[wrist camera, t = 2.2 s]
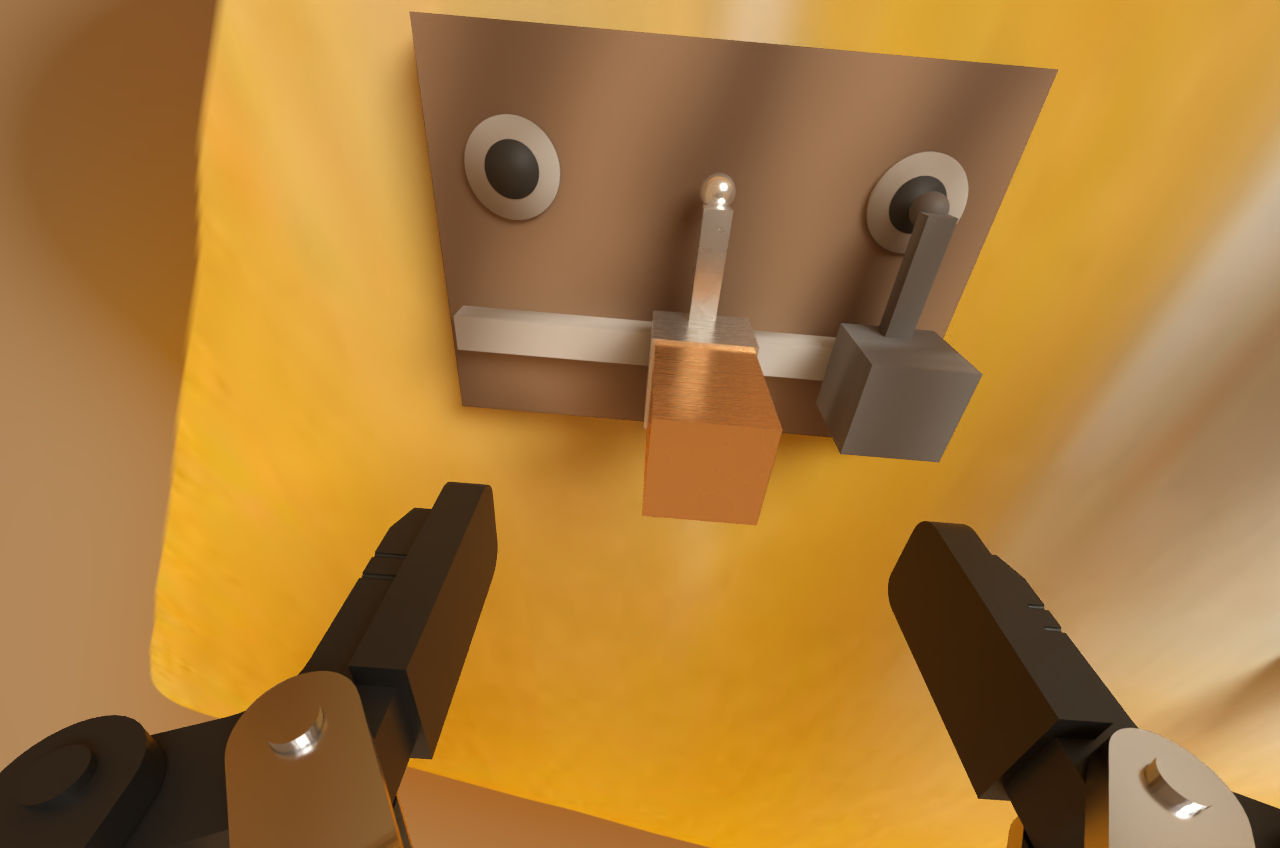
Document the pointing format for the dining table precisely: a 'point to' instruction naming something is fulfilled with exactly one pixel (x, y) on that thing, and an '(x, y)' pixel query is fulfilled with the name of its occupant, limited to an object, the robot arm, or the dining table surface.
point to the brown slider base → (671, 212)
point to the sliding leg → (707, 394)
